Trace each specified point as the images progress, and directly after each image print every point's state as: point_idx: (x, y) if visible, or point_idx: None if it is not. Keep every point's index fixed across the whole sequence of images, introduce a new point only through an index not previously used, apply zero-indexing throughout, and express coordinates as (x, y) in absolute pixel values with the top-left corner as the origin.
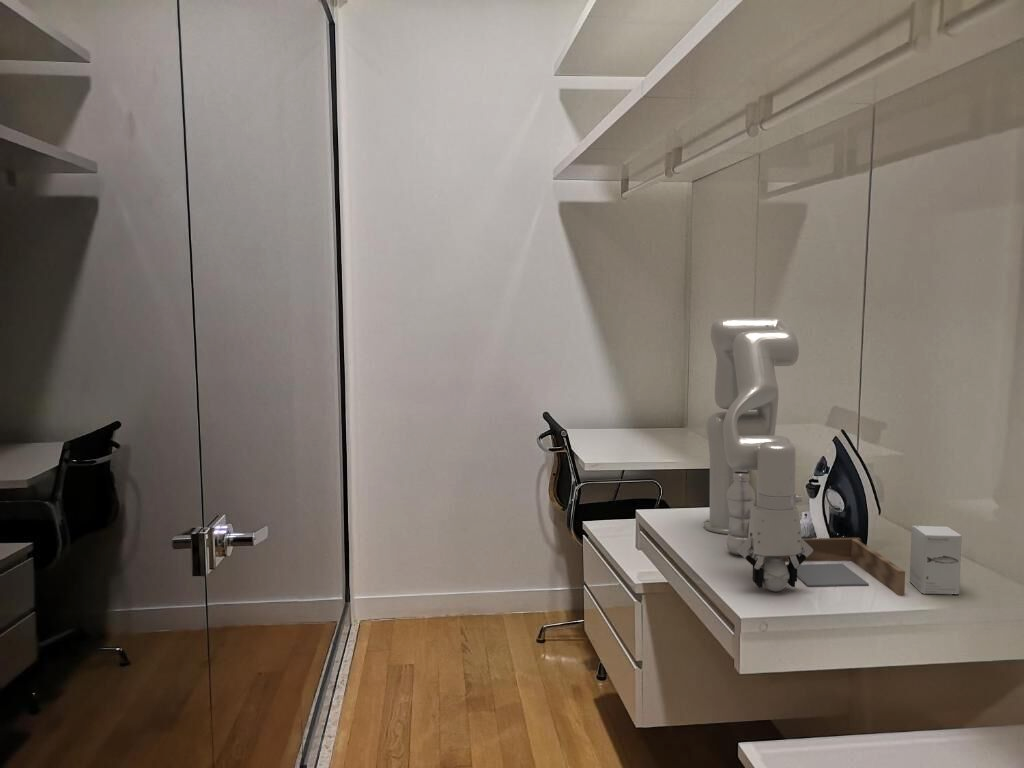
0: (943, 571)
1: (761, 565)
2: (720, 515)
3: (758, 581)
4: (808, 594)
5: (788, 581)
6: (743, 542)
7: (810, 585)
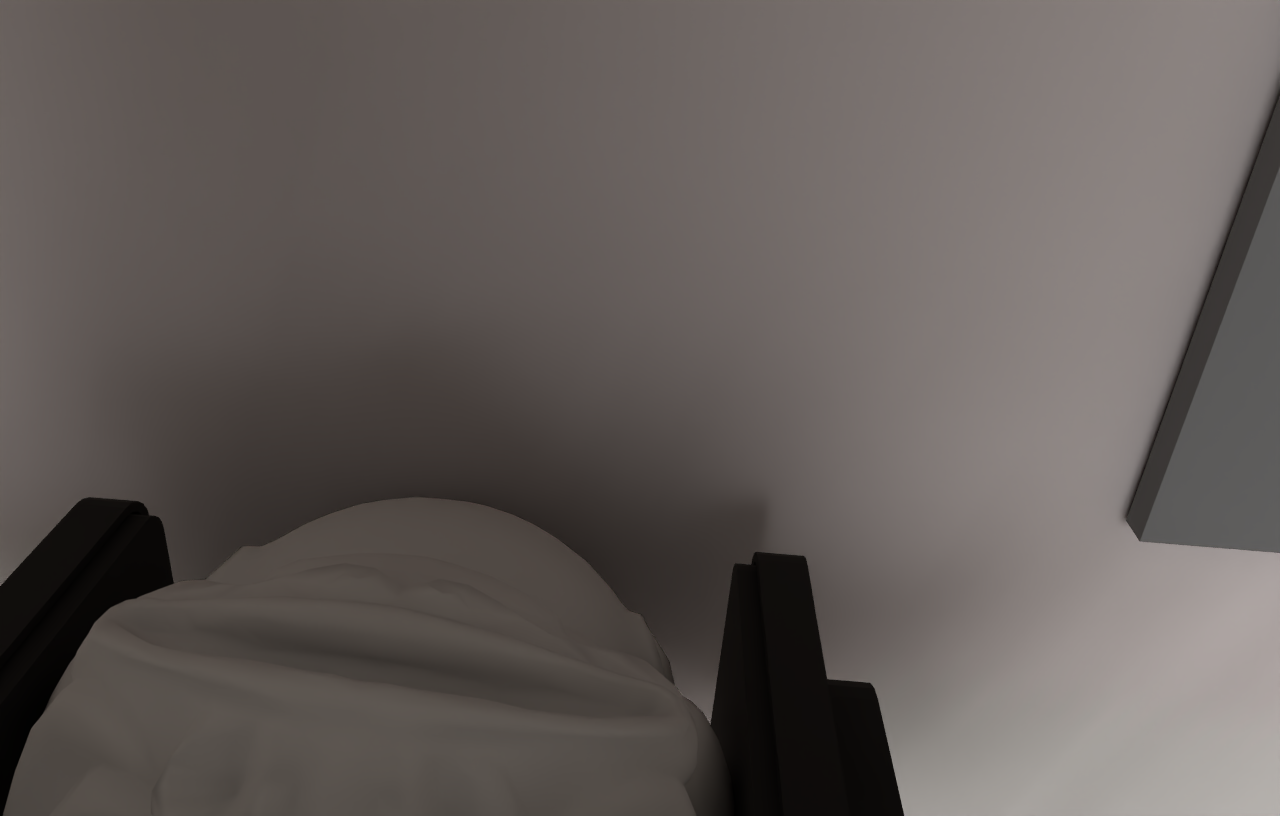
0: None
1: (26, 782)
2: None
3: None
4: (926, 768)
5: (725, 673)
6: None
7: (1190, 543)
